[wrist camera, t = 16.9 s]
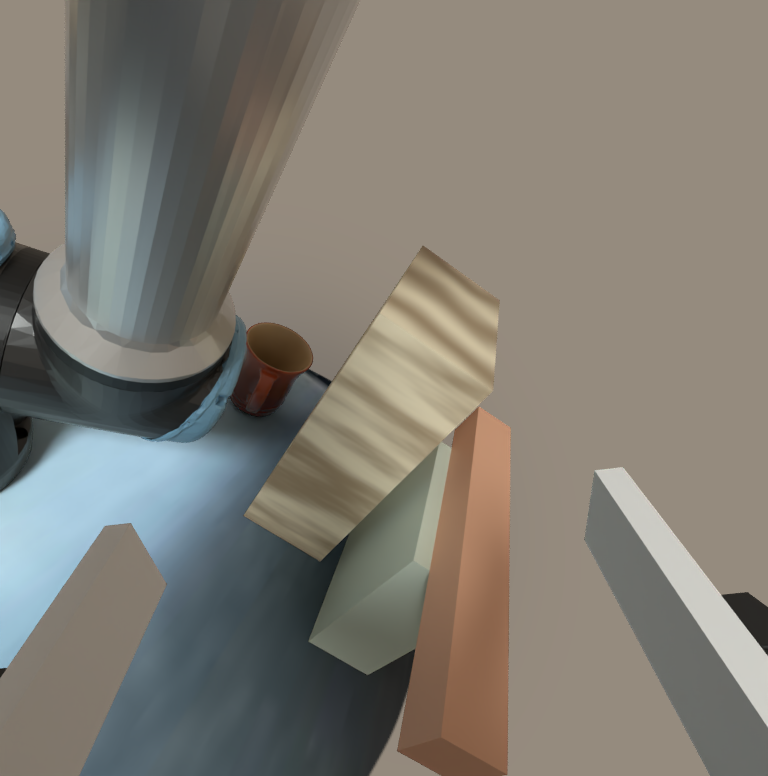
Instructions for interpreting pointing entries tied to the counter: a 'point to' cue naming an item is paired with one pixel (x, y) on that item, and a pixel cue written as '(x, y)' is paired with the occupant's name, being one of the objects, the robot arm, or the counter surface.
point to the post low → (385, 573)
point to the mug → (269, 368)
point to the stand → (384, 407)
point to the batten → (466, 615)
